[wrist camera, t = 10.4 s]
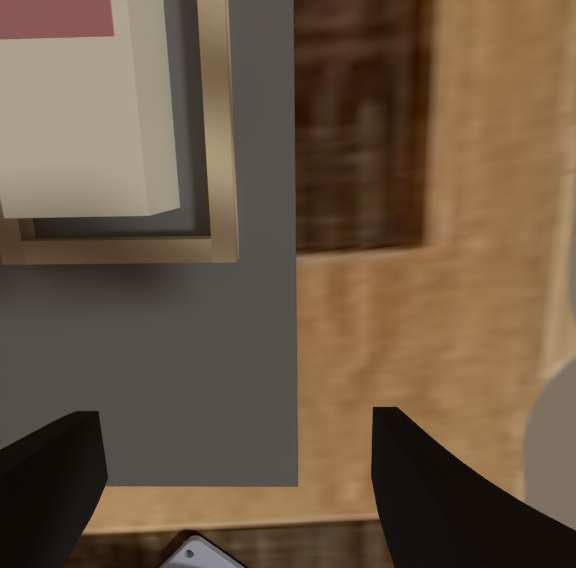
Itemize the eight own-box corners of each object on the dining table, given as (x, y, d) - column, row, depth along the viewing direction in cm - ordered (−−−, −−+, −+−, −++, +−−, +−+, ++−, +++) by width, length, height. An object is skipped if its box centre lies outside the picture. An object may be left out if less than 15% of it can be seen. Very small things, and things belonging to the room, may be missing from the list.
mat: (297, 479, 22) (298, 486, 22) (15, 479, 22) (9, 485, 22) (292, -118, 16) (292, -128, 15) (-103, -106, 16) (-115, -115, 16)
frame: (239, 258, 19) (236, 262, 18) (17, 260, 19) (2, 264, 18) (223, -106, 15) (218, -125, 14) (-46, -98, 16) (-68, -117, 15)
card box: (180, 207, 18) (147, 216, 14) (65, 209, 18) (2, 218, 14) (160, -33, 16) (116, -102, 12) (30, -29, 16) (-56, -96, 12)
